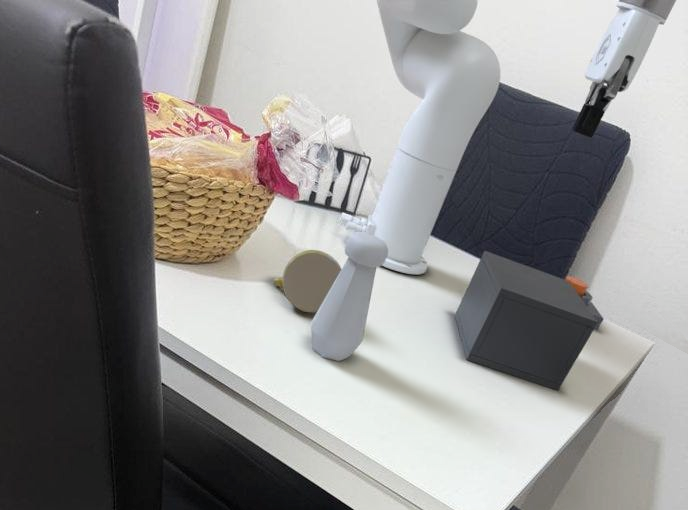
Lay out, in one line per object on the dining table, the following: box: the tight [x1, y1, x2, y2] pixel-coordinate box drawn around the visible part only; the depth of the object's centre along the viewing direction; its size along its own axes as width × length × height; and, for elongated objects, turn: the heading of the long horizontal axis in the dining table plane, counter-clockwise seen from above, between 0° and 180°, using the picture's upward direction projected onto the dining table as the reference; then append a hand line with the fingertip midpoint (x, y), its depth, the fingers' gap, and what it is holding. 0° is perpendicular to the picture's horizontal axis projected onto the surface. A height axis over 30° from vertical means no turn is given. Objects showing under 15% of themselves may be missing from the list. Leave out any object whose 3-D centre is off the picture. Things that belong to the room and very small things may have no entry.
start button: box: [564, 275, 589, 296], centre depth 120 cm, size 4×4×2 cm
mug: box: [273, 249, 342, 314], centre depth 85 cm, size 8×10×10 cm
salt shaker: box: [310, 232, 388, 362], centre depth 74 cm, size 6×6×13 cm
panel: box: [578, 290, 604, 331], centre depth 121 cm, size 11×9×4 cm
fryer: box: [454, 250, 598, 391], centre depth 93 cm, size 15×13×10 cm
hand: (581, 133), depth 114 cm, fingers closed
